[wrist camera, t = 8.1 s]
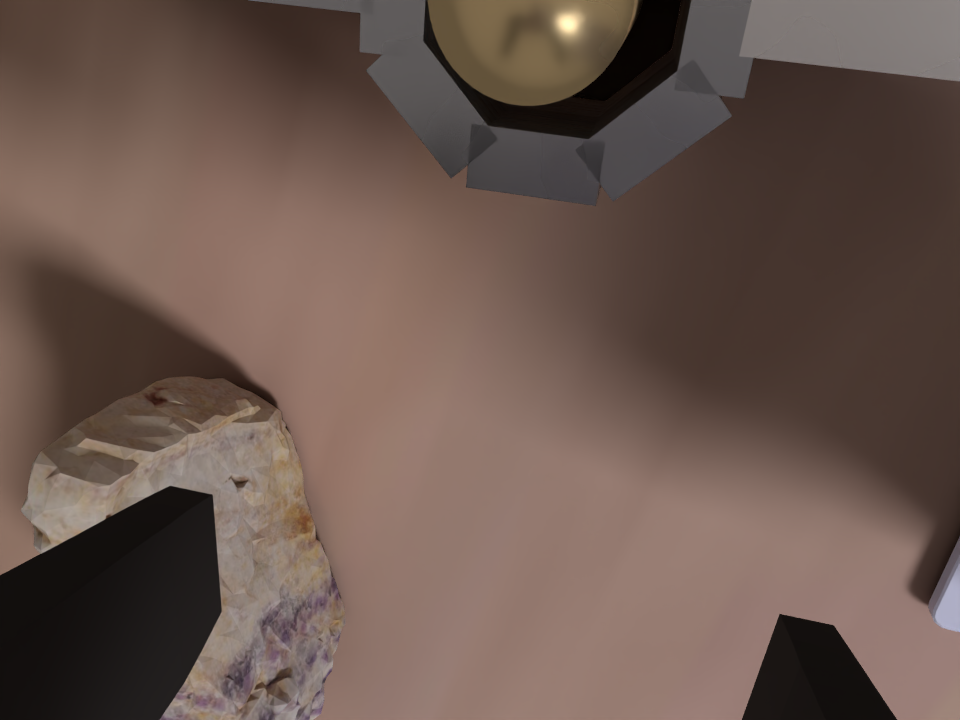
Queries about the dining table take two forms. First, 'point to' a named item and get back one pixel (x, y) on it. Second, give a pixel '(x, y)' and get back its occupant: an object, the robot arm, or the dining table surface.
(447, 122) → the hinge
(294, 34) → the dining table surface
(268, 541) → the mineral specimen
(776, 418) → the dining table surface
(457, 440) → the dining table surface
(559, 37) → the hinge pin
